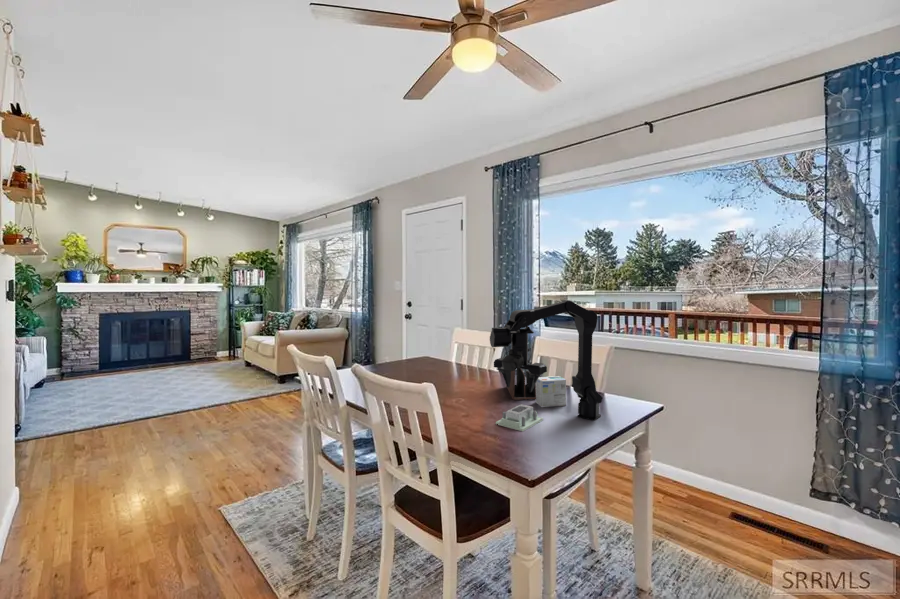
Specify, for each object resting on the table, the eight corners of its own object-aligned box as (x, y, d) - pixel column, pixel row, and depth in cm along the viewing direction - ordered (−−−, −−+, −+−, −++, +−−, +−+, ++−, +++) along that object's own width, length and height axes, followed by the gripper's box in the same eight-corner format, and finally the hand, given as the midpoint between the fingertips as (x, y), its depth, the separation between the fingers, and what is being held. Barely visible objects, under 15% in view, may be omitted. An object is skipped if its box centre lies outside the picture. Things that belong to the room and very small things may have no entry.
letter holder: (512, 400, 177) (512, 367, 176) (506, 387, 196) (506, 357, 195) (536, 400, 177) (536, 367, 176) (527, 387, 196) (527, 357, 196)
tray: (542, 420, 152) (542, 409, 151) (522, 431, 141) (522, 420, 141) (516, 413, 159) (516, 404, 159) (495, 424, 148) (495, 413, 148)
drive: (533, 417, 152) (533, 406, 152) (518, 425, 144) (518, 413, 144) (521, 414, 155) (521, 404, 155) (506, 422, 148) (506, 410, 147)
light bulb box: (559, 400, 175) (559, 375, 174) (566, 405, 168) (566, 379, 167) (535, 402, 173) (535, 376, 172) (541, 407, 166) (541, 380, 165)
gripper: (484, 346, 148) (484, 389, 149) (531, 352, 136) (531, 399, 137) (502, 342, 157) (502, 383, 158) (547, 347, 145) (547, 392, 146)
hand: (519, 389), depth 149 cm, fingers open, 9 cm apart
